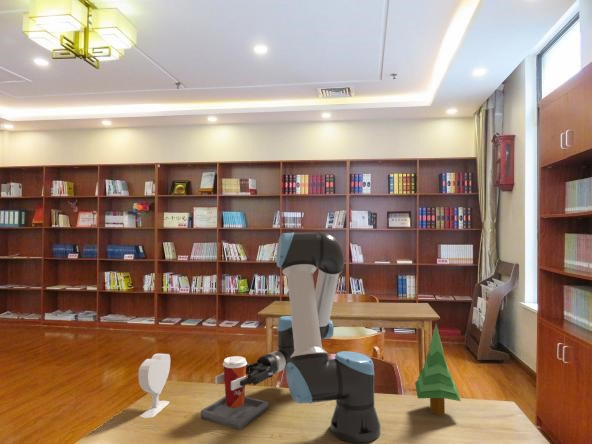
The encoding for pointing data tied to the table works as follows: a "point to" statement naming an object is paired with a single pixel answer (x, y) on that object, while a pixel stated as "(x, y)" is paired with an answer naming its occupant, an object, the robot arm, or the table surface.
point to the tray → (234, 412)
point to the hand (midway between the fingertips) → (223, 383)
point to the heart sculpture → (154, 381)
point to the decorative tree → (436, 378)
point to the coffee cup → (233, 371)
